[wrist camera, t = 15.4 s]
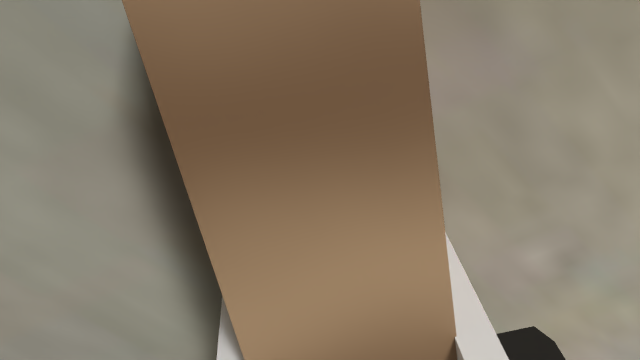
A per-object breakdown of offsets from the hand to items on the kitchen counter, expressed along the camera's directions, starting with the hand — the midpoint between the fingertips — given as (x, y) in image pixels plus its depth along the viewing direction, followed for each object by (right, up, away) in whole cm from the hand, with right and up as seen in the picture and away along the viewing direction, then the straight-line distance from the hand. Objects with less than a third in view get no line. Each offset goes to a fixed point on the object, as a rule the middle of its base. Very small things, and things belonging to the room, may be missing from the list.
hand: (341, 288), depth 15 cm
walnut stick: (0, 0, +1) cm, 1 cm away
